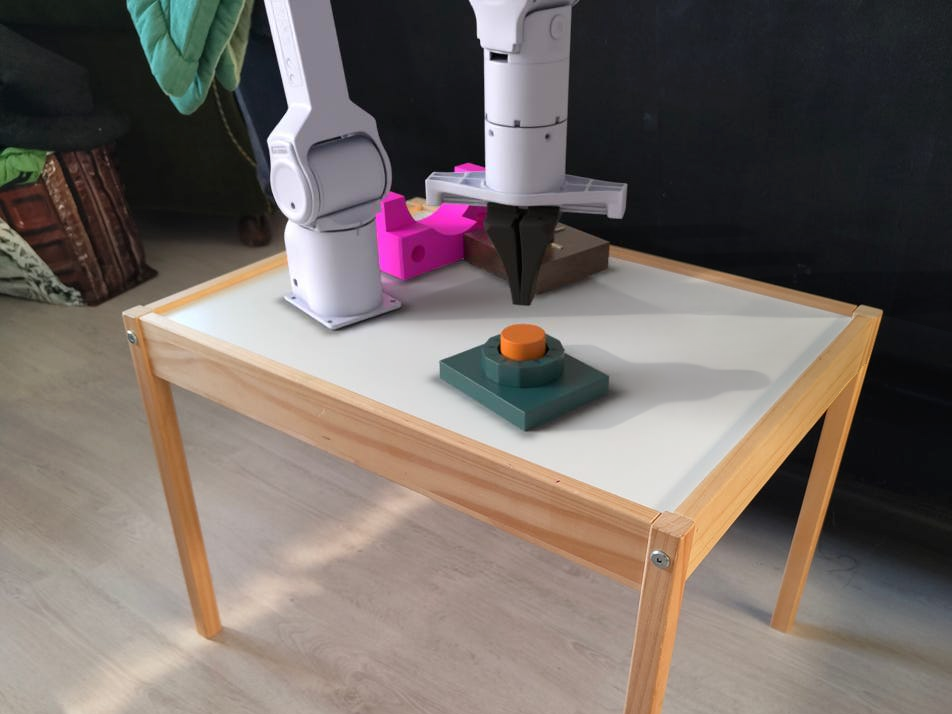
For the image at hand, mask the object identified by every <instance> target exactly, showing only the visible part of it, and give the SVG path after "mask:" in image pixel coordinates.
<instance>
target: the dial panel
mask: <svg viewBox="0 0 952 714" xmlns="http://www.w3.org/2000/svg"><path fill="white" fill-rule="evenodd" d="M610 245H611V242H610V241H608V240H606V239H603V238H600V237H598V236H596V235H593V234H590V233H587V232H585V231H582V230H580V229H577V228H575V227H572V226H569V225H567V224H564V223H562V222H560V221H559V222H558V224H557V226H556V228H555V237H554V239H553V240H552V241H550V242H549V244H548V247H547V249H546V252H545V255H544V257H543V260H542V264H541V267H540V270H539V274H538V279H537V283H536V290H535V295H540V294H542V293H546V292H548V291H551V290H553V289H556V288H559V287H562V286H565V285H568V284H571V283H573V282H576V281H579V280H582V279H584V278H587V277H590V276H593V275H596V274H598V273H602V272H604V271H607V270H608V269H609V261H610ZM463 249H464V259H463V261H464V262H467V263H469V264H471V265H473V266H475V267H478V268H479V269H482V270H483V271H486V272H488V273H490V274H492V275H495V276H497V277H499V278H500V279H503V280H505V281H506V282H508V280H507V276H506V273H505V270H504V267H503V265H502V262H501V260H500V257H499V255H498V253H497V251H496V249H495V247H494V245H493V243H492V241H491V240H490V238H489V236H488V235H487V233H486V231H485V228H484V227H483V228H480V229H476V230H473V231H470V232H466V233H463Z"/></svg>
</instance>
